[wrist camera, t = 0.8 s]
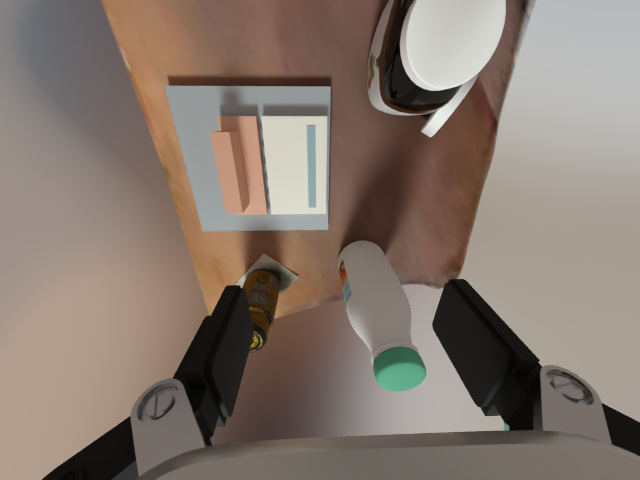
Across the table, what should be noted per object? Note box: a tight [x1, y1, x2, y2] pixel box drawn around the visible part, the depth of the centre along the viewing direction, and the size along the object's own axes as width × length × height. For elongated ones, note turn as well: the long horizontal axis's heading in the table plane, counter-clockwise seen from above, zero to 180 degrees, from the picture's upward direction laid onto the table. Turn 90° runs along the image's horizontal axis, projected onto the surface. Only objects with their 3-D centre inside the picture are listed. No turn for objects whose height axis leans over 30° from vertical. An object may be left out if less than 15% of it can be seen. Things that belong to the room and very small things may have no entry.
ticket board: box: [165, 86, 331, 231], centre depth 30 cm, size 18×19×2 cm
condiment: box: [235, 253, 298, 352], centre depth 34 cm, size 7×8×12 cm
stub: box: [210, 116, 268, 215], centre depth 28 cm, size 12×4×4 cm, turn 0°
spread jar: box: [367, 0, 506, 137], centre depth 22 cm, size 12×11×12 cm
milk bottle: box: [338, 240, 426, 391], centre depth 29 cm, size 8×8×20 cm
